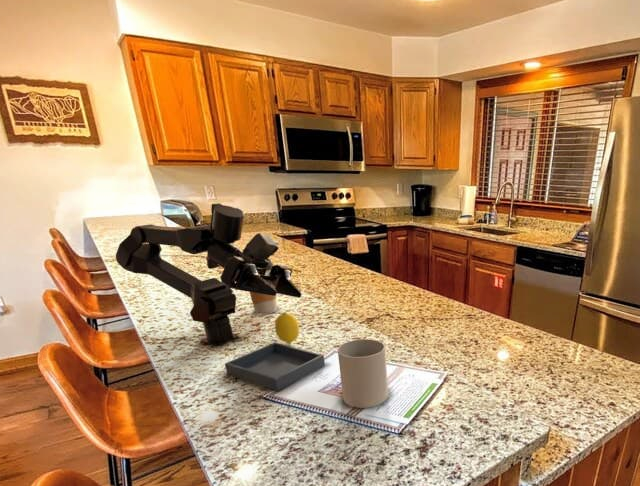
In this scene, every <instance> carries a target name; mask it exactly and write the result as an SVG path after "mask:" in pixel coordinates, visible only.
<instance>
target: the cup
mask: <svg viewBox="0 0 640 486" xmlns="http://www.w3.org/2000/svg"><path fill="white" fill-rule="evenodd" d="M386 355H387V353H386V345H385V344H384V342H382V341H379V340H377V339H369V338H361V339H354V340H349V341H346V342H344V343H341V344H340V345H339V346H338V348H337V356H338V365H339V373H340V374H339V375H340V382H341V383H340V384H341V391H342V392H341V394H342V399H343V402H344V404H346V405H348V407H351V408H352V407H353V408H358V409H365V408H366V409H368V408H372V407H373V408H374V407H376V406H379V405H381V404H382V403H384V402H386V401H387V399H388V396H389V387H388V369H387V356H386Z"/></svg>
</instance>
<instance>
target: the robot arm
mask: <svg viewBox="0 0 640 486" xmlns="http://www.w3.org/2000/svg"><path fill="white" fill-rule="evenodd" d="M210 209H211V215H210V216H211V217H210V224H204V225H197V226H190V227H176V226H175V227H174V226H161V225H155V224H152V223H151V224H143V225H136V226H134V227H132V229H131V230H130V233H129V234H128V236H127V237H125V238H124V239H123V240H122V241H121V242H119V245H118V247H117V250H116V253H115V260H116V262H117V264H118V265H119V266H120V267H121V268H122V269H123V270H125V271H128V272H130V273H133V274H140V275H147V276H148V275H149V276H151V277H152V278H154V279H156V280H158V281H160V282H162V283H163V284H165V285H167V286H169V288H172V289H174V290H175V291H177V292H179V293H181V294H183V295H185V296H186V297H188V298H189V299H191V302H192V305H193V306H192V308H191V310H190V311H189V315H190V317H191V319H192V320H193V321H194V322H197V323H202V327H203V330H204V334H205V338H202V339H200V342H201V343H203V344H207V345H210V346H214V347H219V346H222V345H224V344H227V343H230V342H232V341H235V340H237V339H239V338H240V336H239V335H237V334H234V332H233V328H232V324H231V320H230V317H229V315H231V314H235V313H236V307H237V295H236V293H235V292H234V290H236V291H243V292H248V293H250V292H254V293H260V294H266V295H272V296H276V297H277V294H278V295H284V296H288V297H293V298H297V299H301V297H302V295H303V293H302V291H301V290H300V289H299V288H298V287H297V286H296V285H295V284H294V282H293V280H291V277H292V274H293V270H292V269H291V268H289V267H288V266H286V265H282V264H273V266H272V268H271V271H270V273H266V269H265V267H267V266H268V264H269V262H268V261H267V259H270V257H272V256H274V255H275V254H276V253H277V252H278V251H279V245H278V244H279V243H278V241H277V240H275V239H274V237H273V238H272V237H271V236H270V235H267V234H264V233H261V232H260V233H259V232H258V233H256V234H255V235H254V236H253V237H252V238H251V239H250V240H249V242H248V243H246V245H245V247H244V248H243V249H242V248H240V247H239V246H237V245H235V244H234V243H236V242H238V241H241V239H242V233H243V227H244V225H243V224H244V217H245V212H244V211H243V210H241V209H240V208H238V207H233V206H230V205H225V204H222V203H220V202H219V203H212V204H211V208H210ZM161 245H163V246H171V247H178V248H179V249H180V250H181V251H182V252H185V253H187V254H191V255H200V254H203V253H207V254H206V257H205V260H206V266H207V268H208V269H209V270H213V269H216V268H220V267H221V268H222V269H223V270H222V273H221V274H220V276H219V277H220V278H219V279H220V280H219V279H218V278H216V277H211V278H208V279H204V280H201V279H199V278H197V277H196V276H194V275H192V274H190V273H188V272H187V271H184V270H183V269H181V268H179V267H177V266H175V265H174V264H172V263H170V262H168V261H166V260H164V259H163V258H162V256H161V252H162V250H163V249H162V247H161ZM233 289H234V290H233Z"/></svg>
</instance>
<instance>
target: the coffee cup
mask: <svg viewBox="0 0 640 486" xmlns="http://www.w3.org/2000/svg"><path fill="white" fill-rule="evenodd" d="M267 261H268V262H269V264H268V266H267V267H265V269H266V273H270V271H271V268H272V266H274V263H273V262H272V260H271V259H270V258H268V259H267ZM249 295H250V299H251V302H252V306H253V309H254V311H255V312H256V314H260V315H266V314H272V313H275V312H276V311H277V309H278V301H277V295H276V296H272V295H266V294H260V293H254V292H249Z"/></svg>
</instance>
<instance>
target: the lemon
mask: <svg viewBox="0 0 640 486" xmlns="http://www.w3.org/2000/svg"><path fill="white" fill-rule="evenodd" d="M274 322H275V323H274V329H275V334H276V336H277V337H278V339H280V341H283V342H285V343H288V344H292V343H293V341H295V340H297V338H298V337H299V334H300V324H299V321H298V319H297V318H296V316H295V315H293V314H292V313H288V312H286V311H284V312H282V313H281V314H279V315H278V316H277V318H276V319H275V321H274Z"/></svg>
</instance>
